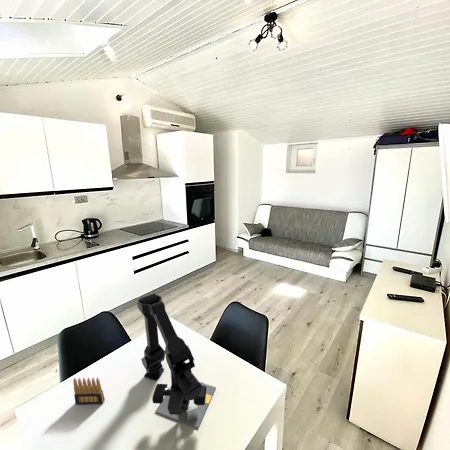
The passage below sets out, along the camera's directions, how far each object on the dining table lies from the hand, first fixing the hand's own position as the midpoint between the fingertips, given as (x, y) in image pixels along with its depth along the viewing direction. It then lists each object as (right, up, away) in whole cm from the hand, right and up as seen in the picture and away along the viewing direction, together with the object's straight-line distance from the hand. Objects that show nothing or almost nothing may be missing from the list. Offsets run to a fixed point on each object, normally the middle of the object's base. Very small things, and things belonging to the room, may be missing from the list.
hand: (181, 411), depth 91 cm
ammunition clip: (-37, -2, +7) cm, 38 cm away
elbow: (+1, 0, +6) cm, 6 cm away
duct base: (+1, -1, +7) cm, 7 cm away
